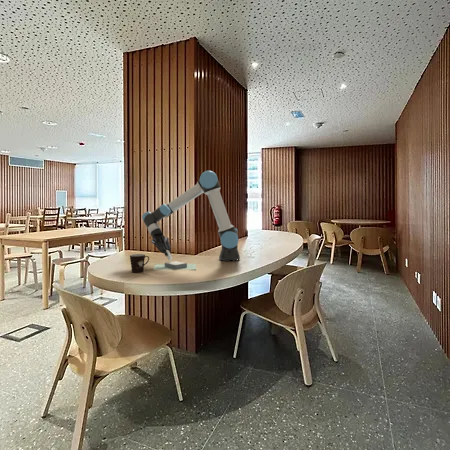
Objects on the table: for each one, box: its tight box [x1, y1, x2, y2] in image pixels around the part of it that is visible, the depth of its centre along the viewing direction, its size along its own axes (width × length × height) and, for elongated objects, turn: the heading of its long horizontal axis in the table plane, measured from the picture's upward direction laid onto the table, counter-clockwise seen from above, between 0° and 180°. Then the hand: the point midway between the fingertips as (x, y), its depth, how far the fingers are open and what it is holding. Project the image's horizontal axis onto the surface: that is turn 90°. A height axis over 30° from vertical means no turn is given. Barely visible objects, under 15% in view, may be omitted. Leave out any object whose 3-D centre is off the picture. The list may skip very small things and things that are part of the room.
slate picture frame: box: [164, 260, 188, 269], centre depth 195 cm, size 3×9×11 cm
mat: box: [152, 263, 197, 271], centre depth 197 cm, size 26×18×1 cm
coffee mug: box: [129, 253, 150, 274], centre depth 184 cm, size 12×9×10 cm
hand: (170, 259), depth 198 cm, fingers closed
